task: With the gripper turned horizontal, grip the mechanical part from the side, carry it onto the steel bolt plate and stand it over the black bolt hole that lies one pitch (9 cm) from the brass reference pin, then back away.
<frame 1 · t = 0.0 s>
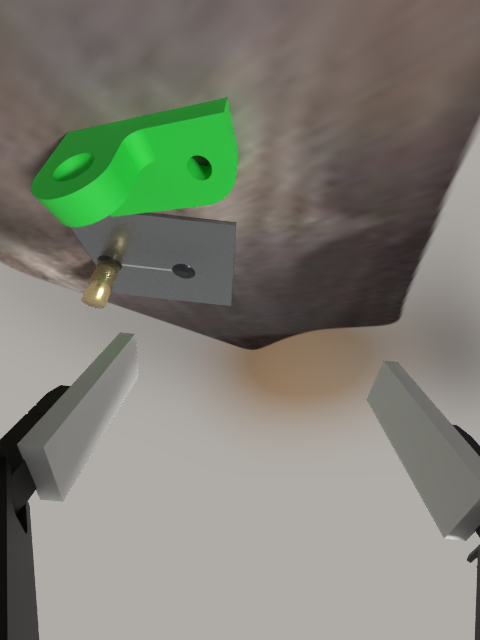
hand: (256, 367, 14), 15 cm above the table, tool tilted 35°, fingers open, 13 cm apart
bolt plate: (163, 264, 31), on the table
mechanical part: (163, 157, 20), on the table
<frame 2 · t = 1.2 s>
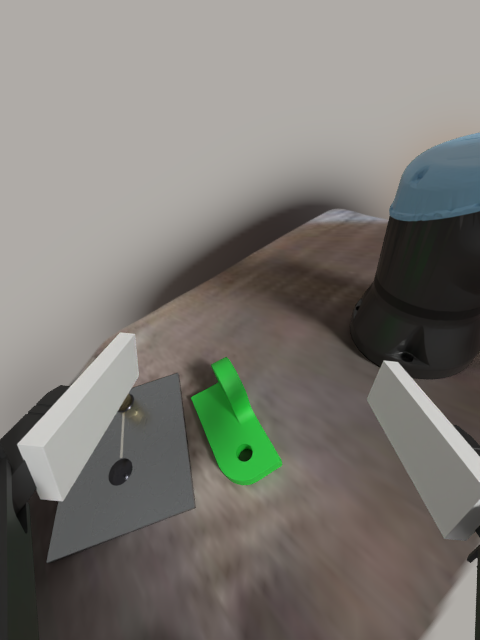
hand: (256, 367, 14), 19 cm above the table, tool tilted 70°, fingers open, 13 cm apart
bolt plate: (127, 449, 32), on the table
mechanical part: (234, 432, 32), on the table
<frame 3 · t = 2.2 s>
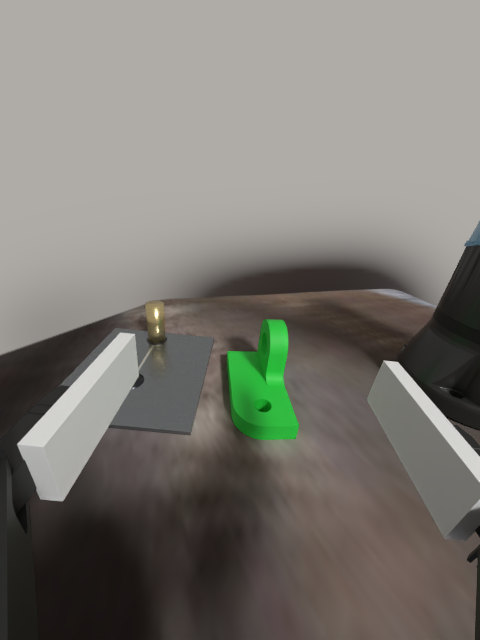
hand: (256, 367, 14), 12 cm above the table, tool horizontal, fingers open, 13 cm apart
bolt plate: (144, 370, 32), on the table
mechanical part: (254, 396, 30), on the table
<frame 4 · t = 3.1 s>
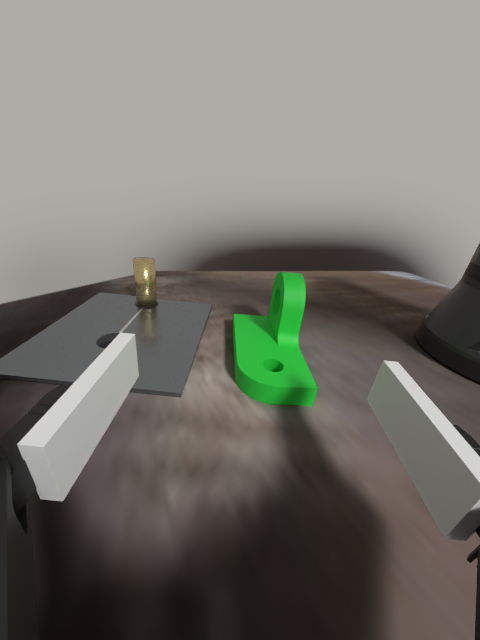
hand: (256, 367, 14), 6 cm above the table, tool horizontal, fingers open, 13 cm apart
bolt plate: (129, 331, 27), on the table
mechanical part: (263, 362, 25), on the table
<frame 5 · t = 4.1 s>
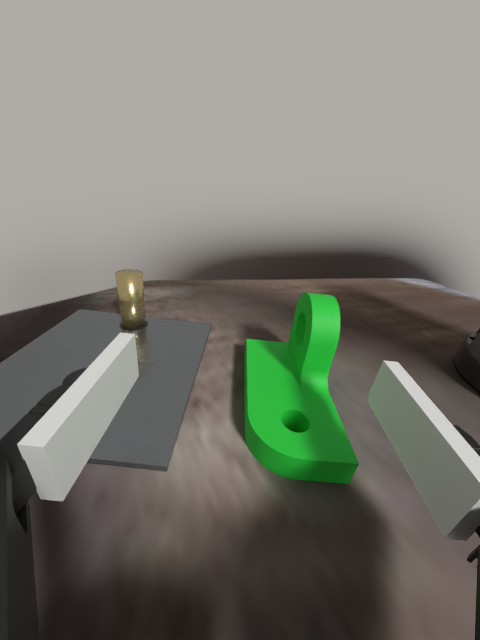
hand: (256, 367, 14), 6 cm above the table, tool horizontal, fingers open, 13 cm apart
bolt plate: (108, 364, 22), on the table
mechanical part: (282, 405, 20), on the table
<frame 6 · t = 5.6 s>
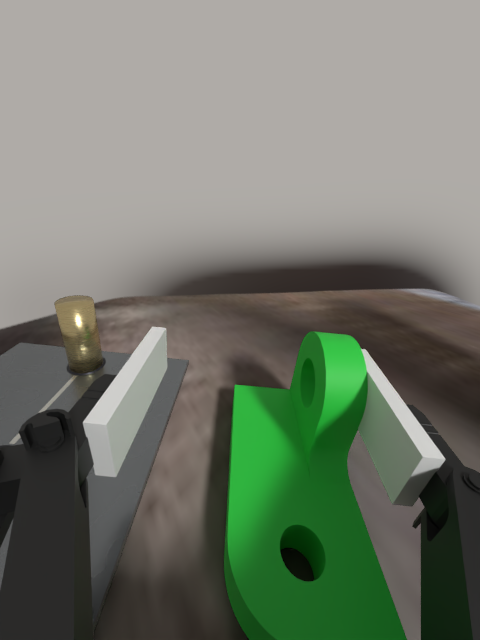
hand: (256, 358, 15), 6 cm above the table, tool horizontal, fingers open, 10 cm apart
bolt plate: (35, 434, 16), on the table
mechanical part: (281, 493, 14), on the table, touching gripper
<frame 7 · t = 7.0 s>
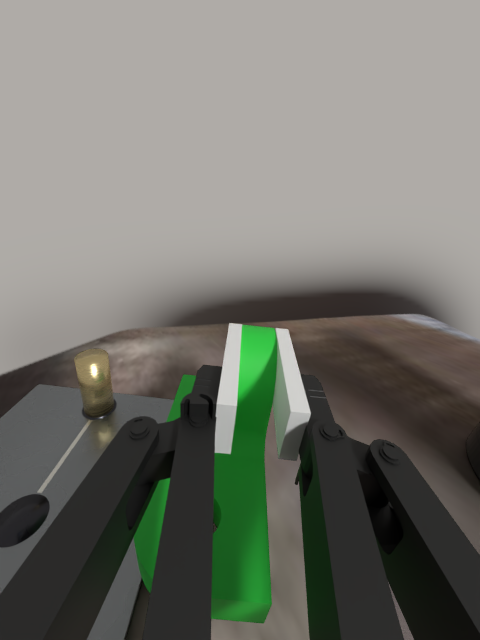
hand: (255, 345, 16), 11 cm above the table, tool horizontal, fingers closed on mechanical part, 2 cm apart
bolt plate: (58, 482, 18), on the table
mechanical part: (209, 471, 16), point 4 cm above the table, touching gripper
when the fingers open (8 cm above the table, at t = 11.0 s): mechanical part stays where it is, resting on bolt plate.
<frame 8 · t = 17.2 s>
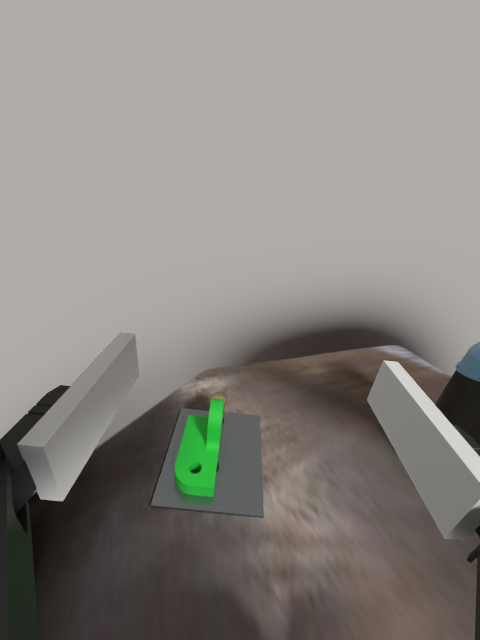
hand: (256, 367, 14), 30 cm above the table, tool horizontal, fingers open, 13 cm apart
bolt plate: (215, 454, 42), on the table
mechanical part: (199, 455, 41), resting on bolt plate
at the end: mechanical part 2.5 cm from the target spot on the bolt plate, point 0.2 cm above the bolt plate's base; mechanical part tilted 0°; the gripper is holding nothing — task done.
